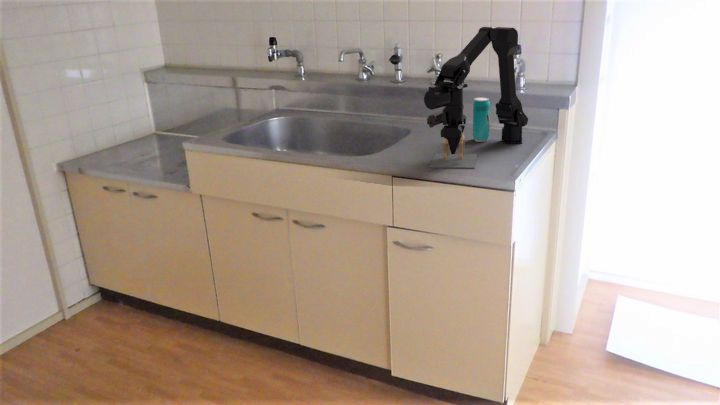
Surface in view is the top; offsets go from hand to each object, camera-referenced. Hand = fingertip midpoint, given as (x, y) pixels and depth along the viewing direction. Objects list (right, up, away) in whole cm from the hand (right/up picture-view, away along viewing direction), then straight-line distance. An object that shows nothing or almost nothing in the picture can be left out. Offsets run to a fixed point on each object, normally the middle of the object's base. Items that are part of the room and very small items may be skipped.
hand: (453, 151), depth 193 cm
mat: (0, -3, +1) cm, 3 cm away
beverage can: (+13, +6, +22) cm, 26 cm away
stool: (0, -2, +1) cm, 2 cm away
